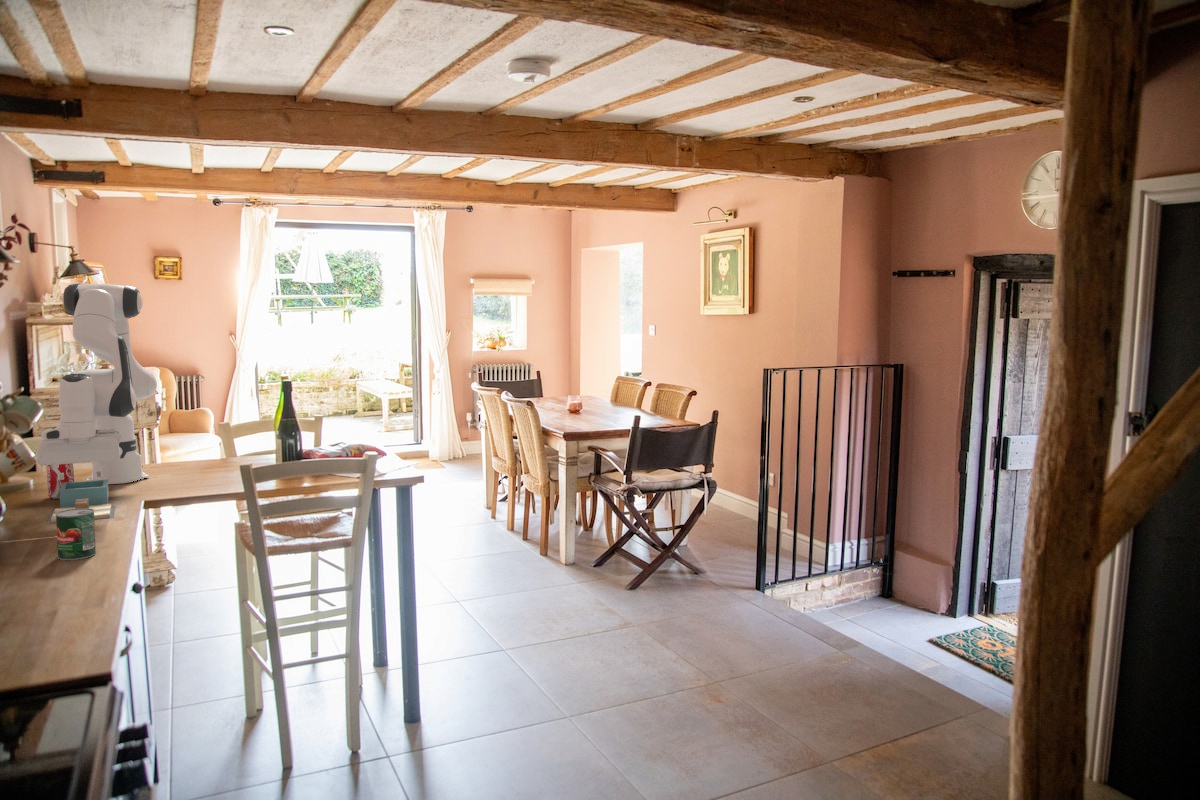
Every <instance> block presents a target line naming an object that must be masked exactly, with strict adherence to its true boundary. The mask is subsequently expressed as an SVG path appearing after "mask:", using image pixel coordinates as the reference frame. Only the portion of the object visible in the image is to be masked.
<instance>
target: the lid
mask: <svg viewBox="0 0 1200 800" xmlns="http://www.w3.org/2000/svg"><path fill="white" fill-rule="evenodd" d="M111 506H112V503H108V504H100V505H89V500H88V498H87V499H76V502H75V507H64V508H60V507H55V508H54V510H53V511H54V513H53V516H52V518H51V523H55V522H56V513H58V512H60V511H64V510H69V509H77V508H90V509H93V510H94V519H99V518H110V513H111ZM110 519H111V518H110ZM99 520H100V519H99ZM55 524H56V523H55Z"/></svg>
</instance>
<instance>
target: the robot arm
mask: <svg viewBox="0 0 1200 800" xmlns="http://www.w3.org/2000/svg"><path fill="white" fill-rule="evenodd" d="M61 300H62V305H63V307H64V310H65V312H66V313H68V314H69V315H71V316H73V318H72V319H73V320H72V337H73V338H74V340H75V341H76V342H77V343H78V344H79V346H81V347H83V348H84V349H86V350H88V351H90V352H93V354H94V355H95V356H96V357H97V358H98V359H100V360H103V361H104V362H107V363H109V364H111V365H112V366H113V368H110V369H109V368H106V369H105V368H102V369H101V368H100V369H97V368H95V369H94V368H93V369H85V370H79V371H76V372H74V373H71V374H65V375H63V376H62V377H61V378H60V381H59V388H58V408H59V410H60V418H59V425H57V426H53V427H50V428H47V429H44V430H42V432H41V433H40V434H41V435H40V437H41V439H42V440H40V442H39V444H38V447H37V452H36V463H37V464H38V465H39V466H47V465H52V468H53V470H54V471H55V472H56V474H57V475H58V480H64V473H60V471H59V470H58V469H57V468H58V467H59V464H73V465H74V464H87V463H88V464H89V463H91V475H90V476H89V477H88V478H86V480H85V481H93V480H107V479H108V485H114V484H115V485H116V484H118V485H119V484H127V483H128V484H129V483H133V481H134V482H137V480H138V481H141V480H145V479H144V478H147V479H149V478H150V476H149V474H147V473H146V472H144V471H143V462H142V461H143V460H142V455H141V454H140V453H139V452H138V451H137V444H138V443H137V439H136V438H135V420H134V418H133V417H132V415H131V413H132V412H133V411H135V410H136V409H135V408H136V406H137V401H139V400H140V401H141V400H145V399H149V398H151V397H152V396H153V395H154V394H155V392H156V390H157V383H158V382H157V379H156V377H155V375H154V374H153V373H152V372H151V371H150V370H148V369H146V368H145V367H143V366H142V365H141V364H140V363H139V362H138V361H137V359H136V358H135V355H134V354H133V351H132V345H131V336H130V324H129V319H131V318H135V317H137V316H138V315H139V314H140V313H141V310H142V308H143V298H142V295H141V292H140V290H139V289H138V288H136V287H135V286H130V285H119V284H113V283H84V284H81V283H72V284H69V285H67V286H66V287H65V288H64V291H63V293H62V298H61ZM148 477H149V478H148ZM140 479H141V480H140Z"/></svg>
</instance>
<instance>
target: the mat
mask: <svg viewBox="0 0 1200 800" xmlns="http://www.w3.org/2000/svg"><path fill="white" fill-rule="evenodd" d="M115 510H116V506H115V505H111V513H110V518H99V519H94V521H96V520H108V519H109V520H110V519H115ZM53 513H54V510H51V512H50V515H49V517H48V519H47V521H46V525H53V524H54V525H55V524H56V522H55V523H51V518H52V516H53Z"/></svg>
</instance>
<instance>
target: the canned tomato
mask: <svg viewBox="0 0 1200 800" xmlns="http://www.w3.org/2000/svg"><path fill="white" fill-rule="evenodd" d="M55 524H56V541H57V543H56V544H57V559H58V560H59V559H60V561H65V560H71V561H79V559H80V560H85V559H89V558H91V556H92V557H94V556H95V555H96V554H97V552H96V548H97V547H96V530H95V528H96V527H95V520H94V510H93V509H90V508H77V509H69V510H64V511H60V512H58V513H56V523H55ZM93 555H94V556H93ZM88 557H89V558H88ZM84 558H85V559H84Z"/></svg>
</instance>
